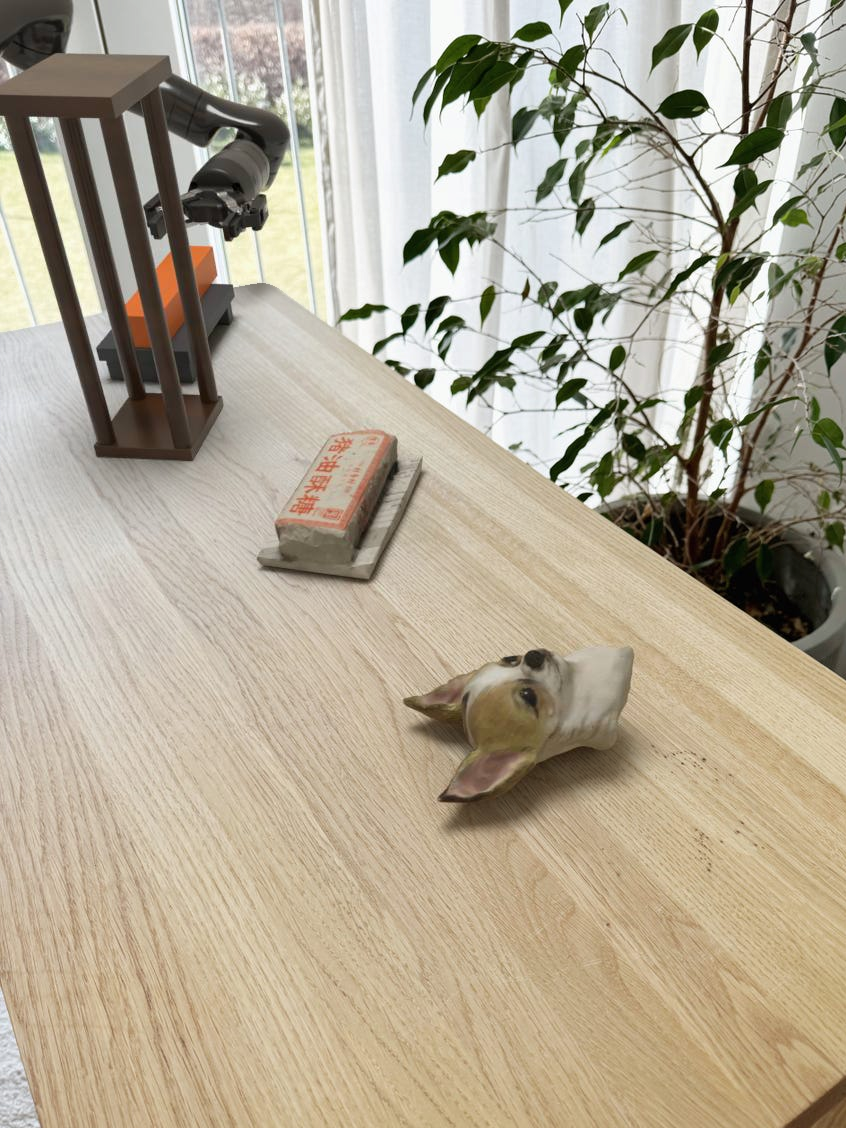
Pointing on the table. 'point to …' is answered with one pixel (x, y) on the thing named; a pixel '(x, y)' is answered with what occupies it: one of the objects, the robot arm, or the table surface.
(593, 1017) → the table surface
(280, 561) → the packaged product
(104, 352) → the low shelf
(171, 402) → the tall stand
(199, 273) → the orange block
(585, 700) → the ceramic sculpture
